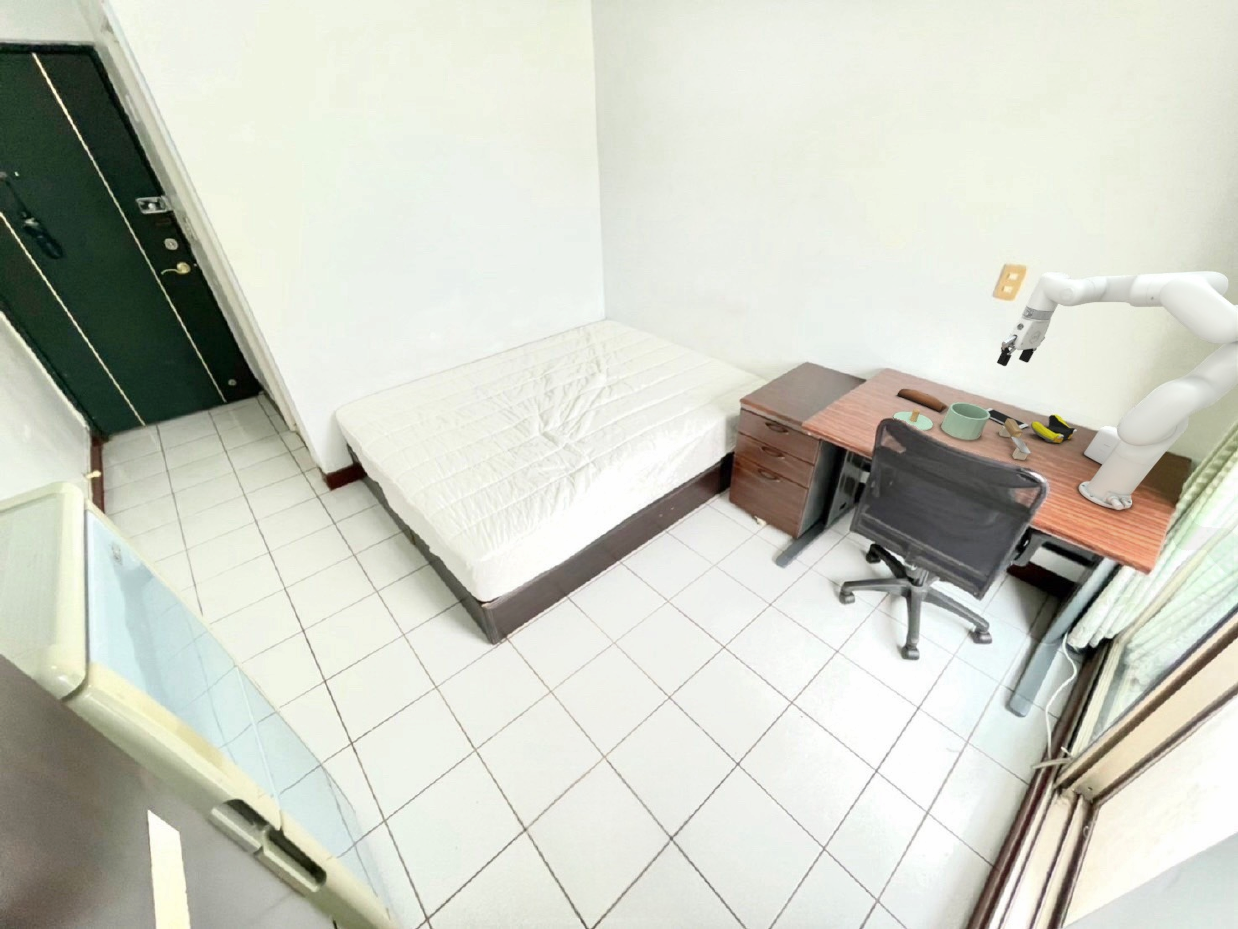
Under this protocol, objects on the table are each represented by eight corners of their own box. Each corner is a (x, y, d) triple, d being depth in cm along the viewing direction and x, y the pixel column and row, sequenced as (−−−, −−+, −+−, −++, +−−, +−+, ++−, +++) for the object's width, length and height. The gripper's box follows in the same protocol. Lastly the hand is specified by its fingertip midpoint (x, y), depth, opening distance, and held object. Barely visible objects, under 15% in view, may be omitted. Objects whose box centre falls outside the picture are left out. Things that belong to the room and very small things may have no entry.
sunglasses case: (950, 406, 196) (951, 396, 191) (939, 418, 195) (940, 409, 190) (907, 390, 208) (907, 380, 203) (896, 401, 207) (896, 391, 202)
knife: (1021, 452, 164) (1025, 445, 162) (1002, 424, 179) (1006, 418, 177) (1030, 454, 163) (1034, 447, 162) (1011, 425, 178) (1015, 419, 176)
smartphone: (990, 407, 194) (1029, 425, 183) (989, 408, 195) (1028, 426, 184) (978, 411, 192) (1017, 429, 181) (977, 413, 192) (1016, 431, 181)
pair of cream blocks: (1024, 460, 167) (1029, 451, 164) (1013, 458, 167) (1018, 450, 165) (1008, 434, 180) (1012, 426, 178) (998, 433, 180) (1002, 425, 178)
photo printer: (1080, 453, 169) (1100, 423, 162) (1089, 452, 170) (1110, 421, 163) (1110, 470, 161) (1133, 439, 154) (1120, 468, 162) (1144, 437, 155)
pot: (983, 443, 175) (994, 421, 170) (944, 437, 178) (954, 416, 173) (973, 425, 185) (984, 404, 180) (937, 421, 188) (946, 400, 183)
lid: (935, 434, 180) (941, 421, 177) (895, 429, 183) (900, 416, 180) (927, 416, 191) (933, 404, 187) (890, 412, 194) (894, 399, 190)
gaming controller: (1023, 434, 180) (1052, 447, 173) (1030, 421, 177) (1060, 434, 169) (1046, 424, 185) (1076, 437, 178) (1054, 412, 182) (1084, 424, 175)
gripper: (1028, 320, 151) (1002, 370, 161) (1069, 314, 155) (1041, 363, 165) (1006, 312, 157) (983, 361, 167) (1046, 307, 161) (1021, 355, 171)
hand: (1012, 362), depth 166 cm, fingers open, 9 cm apart
